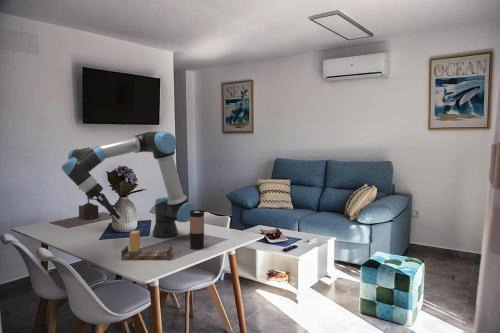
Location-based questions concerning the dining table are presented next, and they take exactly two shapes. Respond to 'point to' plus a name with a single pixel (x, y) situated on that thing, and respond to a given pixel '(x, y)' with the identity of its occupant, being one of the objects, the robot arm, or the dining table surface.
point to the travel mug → (197, 229)
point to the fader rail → (147, 255)
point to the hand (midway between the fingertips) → (122, 221)
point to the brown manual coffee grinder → (88, 211)
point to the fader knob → (134, 243)
